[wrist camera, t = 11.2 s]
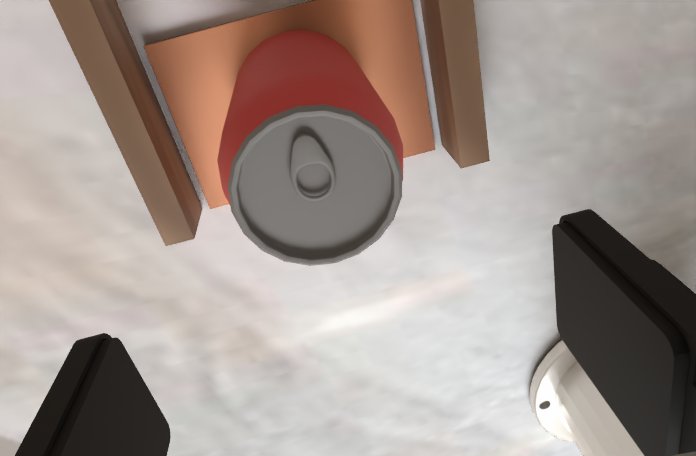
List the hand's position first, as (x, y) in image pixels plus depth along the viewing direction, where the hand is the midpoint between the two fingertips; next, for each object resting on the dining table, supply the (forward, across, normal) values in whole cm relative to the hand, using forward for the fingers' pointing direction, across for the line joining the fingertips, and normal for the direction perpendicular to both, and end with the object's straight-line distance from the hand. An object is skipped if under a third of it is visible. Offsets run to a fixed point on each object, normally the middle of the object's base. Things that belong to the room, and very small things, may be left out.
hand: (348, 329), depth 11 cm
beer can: (+19, 0, -1) cm, 19 cm away
